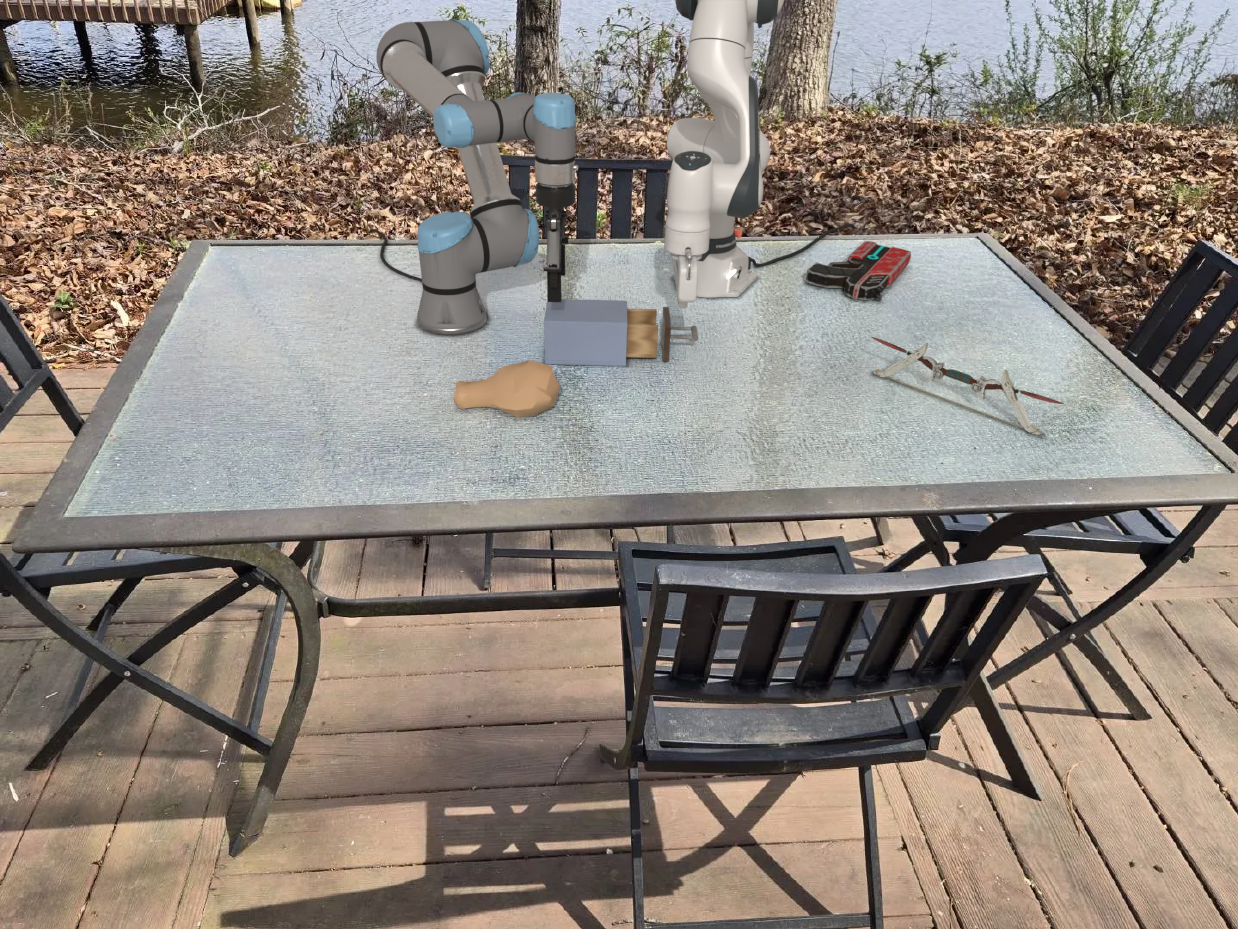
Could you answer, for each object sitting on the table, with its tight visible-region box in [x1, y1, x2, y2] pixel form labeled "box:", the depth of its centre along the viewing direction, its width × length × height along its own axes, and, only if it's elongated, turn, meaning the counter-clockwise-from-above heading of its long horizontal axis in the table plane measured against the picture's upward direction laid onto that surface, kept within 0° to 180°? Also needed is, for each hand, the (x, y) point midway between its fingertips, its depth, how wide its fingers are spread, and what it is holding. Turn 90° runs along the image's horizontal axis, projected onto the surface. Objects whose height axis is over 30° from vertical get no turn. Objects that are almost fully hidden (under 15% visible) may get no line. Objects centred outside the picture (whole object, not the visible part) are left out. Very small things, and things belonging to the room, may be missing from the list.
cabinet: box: [543, 298, 628, 367], centre depth 183 cm, size 17×11×10 cm
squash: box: [453, 359, 561, 418], centre depth 163 cm, size 11×20×9 cm, turn 90°
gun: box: [805, 240, 912, 302], centre depth 224 cm, size 4×31×19 cm
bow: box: [870, 336, 1065, 436], centre depth 169 cm, size 39×2×10 cm, turn 47°
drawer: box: [626, 306, 699, 362], centre depth 183 cm, size 22×10×8 cm, turn 90°
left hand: (556, 287), depth 178 cm, fingers open, 13 cm apart
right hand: (682, 305), depth 180 cm, fingers closed
